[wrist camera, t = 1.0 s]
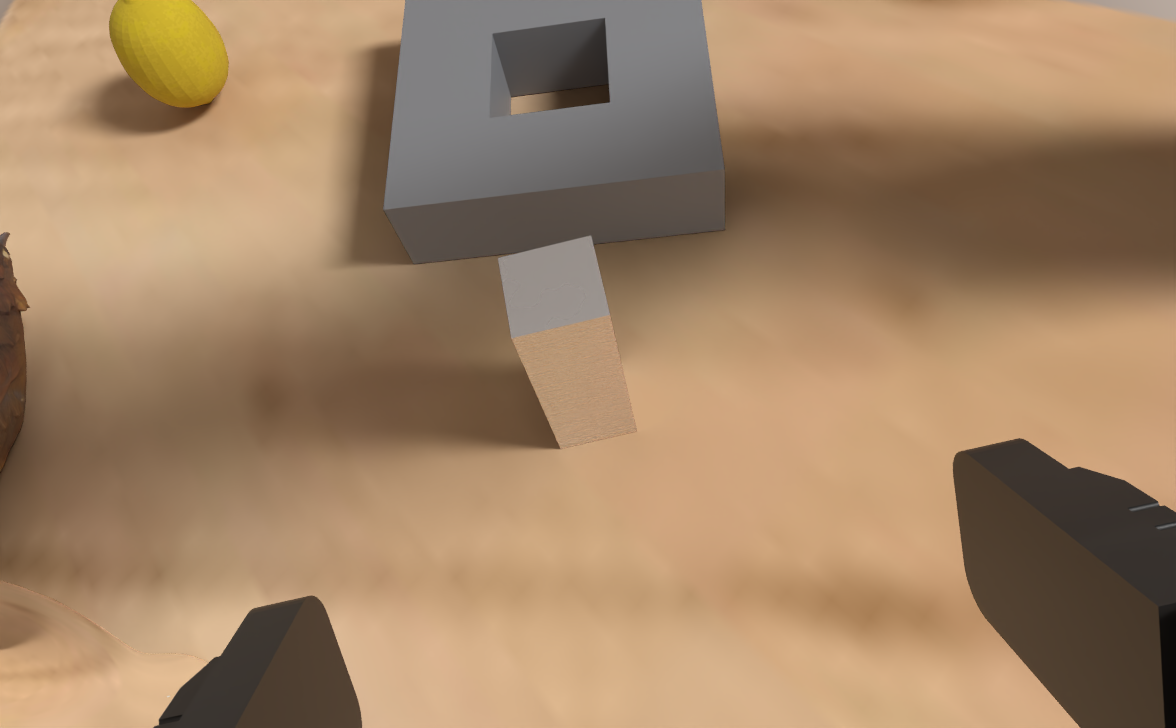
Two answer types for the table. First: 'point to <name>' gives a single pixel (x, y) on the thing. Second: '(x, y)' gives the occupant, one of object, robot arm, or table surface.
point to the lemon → (170, 50)
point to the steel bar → (567, 340)
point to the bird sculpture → (10, 354)
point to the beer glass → (78, 669)
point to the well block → (551, 126)
